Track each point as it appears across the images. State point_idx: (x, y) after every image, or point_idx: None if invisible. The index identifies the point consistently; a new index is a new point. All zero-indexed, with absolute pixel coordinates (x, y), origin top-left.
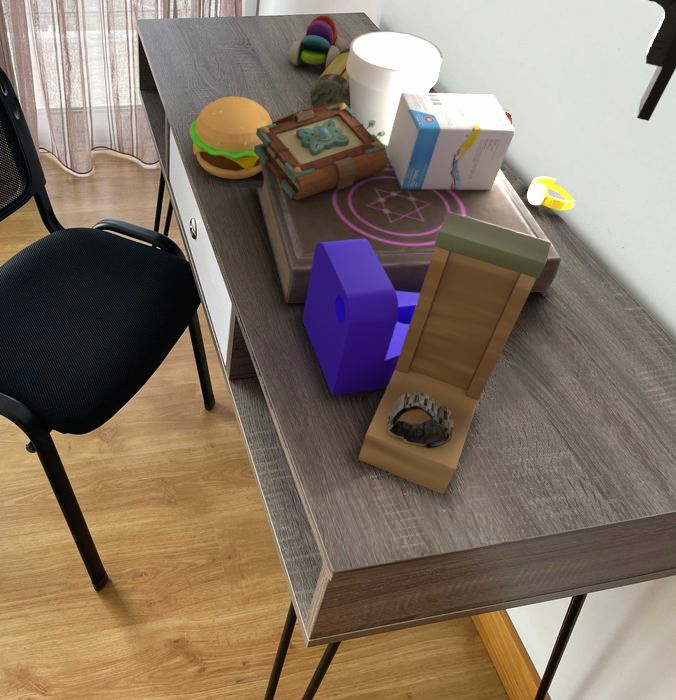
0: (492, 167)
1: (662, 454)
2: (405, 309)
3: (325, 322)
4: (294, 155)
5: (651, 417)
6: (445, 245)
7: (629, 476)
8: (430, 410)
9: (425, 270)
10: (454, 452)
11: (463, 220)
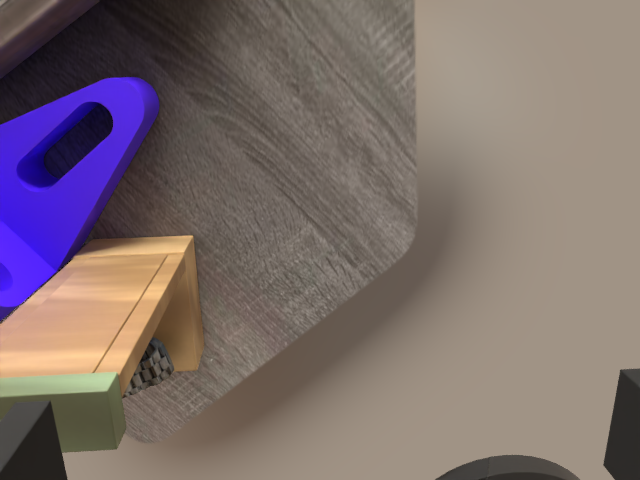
0: None
1: (409, 173)
2: (31, 151)
3: None
4: None
5: (394, 117)
6: None
7: (376, 225)
8: (132, 390)
9: (11, 49)
10: (188, 352)
11: None
